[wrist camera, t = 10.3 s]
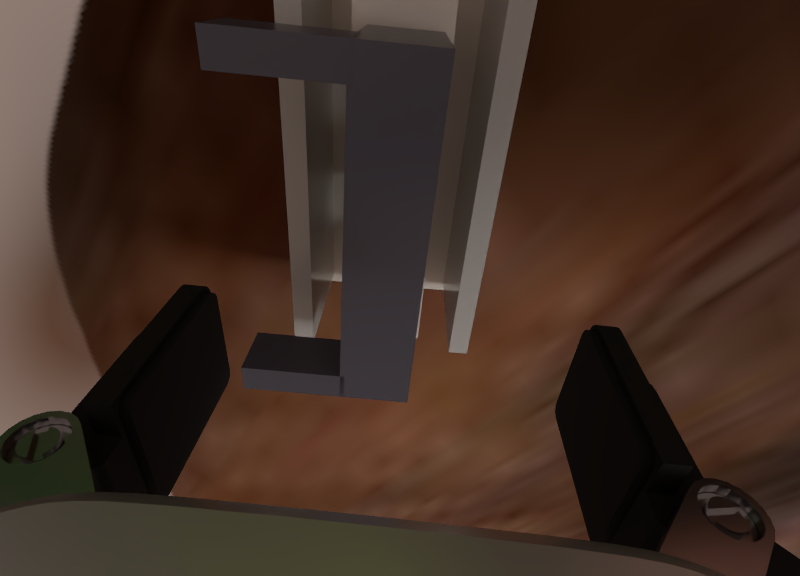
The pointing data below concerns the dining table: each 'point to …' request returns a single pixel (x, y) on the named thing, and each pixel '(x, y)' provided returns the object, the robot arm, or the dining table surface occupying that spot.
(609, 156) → the dining table surface
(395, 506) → the dining table surface
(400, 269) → the grey bracket
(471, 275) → the stand
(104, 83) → the dining table surface
